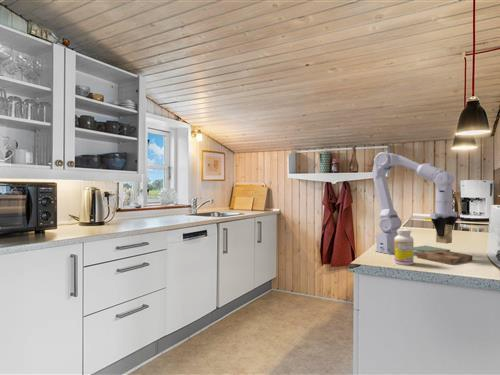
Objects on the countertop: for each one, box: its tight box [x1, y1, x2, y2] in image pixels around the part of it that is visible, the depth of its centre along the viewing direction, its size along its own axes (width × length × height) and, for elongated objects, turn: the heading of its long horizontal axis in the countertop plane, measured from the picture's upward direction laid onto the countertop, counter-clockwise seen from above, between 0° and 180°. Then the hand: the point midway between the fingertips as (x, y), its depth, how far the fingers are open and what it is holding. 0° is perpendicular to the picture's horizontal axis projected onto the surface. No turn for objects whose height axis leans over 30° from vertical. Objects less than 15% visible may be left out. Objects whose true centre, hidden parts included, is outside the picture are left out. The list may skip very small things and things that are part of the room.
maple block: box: [435, 225, 453, 244], centre depth 140 cm, size 4×4×7 cm
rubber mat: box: [413, 245, 451, 252], centre depth 159 cm, size 12×12×1 cm
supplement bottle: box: [394, 228, 415, 266], centre depth 133 cm, size 7×7×13 cm
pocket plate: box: [416, 250, 473, 265], centre depth 140 cm, size 14×14×2 cm
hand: (444, 235), depth 140 cm, fingers closed on maple block, 4 cm apart
